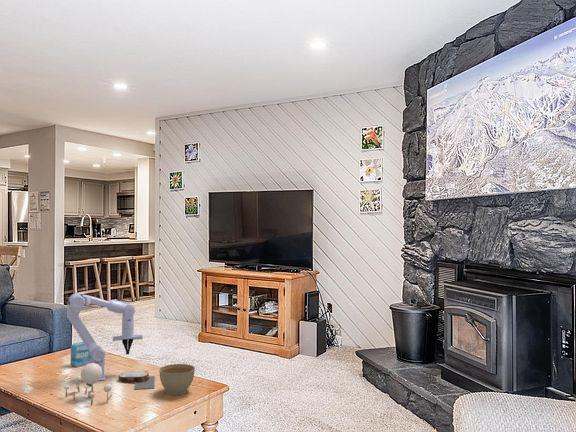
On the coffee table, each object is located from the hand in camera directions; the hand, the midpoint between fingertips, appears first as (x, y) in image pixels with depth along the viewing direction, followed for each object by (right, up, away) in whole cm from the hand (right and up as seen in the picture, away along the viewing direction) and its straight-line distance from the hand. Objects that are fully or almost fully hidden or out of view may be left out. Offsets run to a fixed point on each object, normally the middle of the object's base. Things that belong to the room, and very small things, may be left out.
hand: (127, 353), depth 248 cm
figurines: (-6, -10, -35) cm, 37 cm away
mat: (+13, -10, -13) cm, 21 cm away
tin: (+6, -8, -14) cm, 17 cm away
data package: (-30, -11, +16) cm, 35 cm away
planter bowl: (+31, -11, -25) cm, 41 cm away
